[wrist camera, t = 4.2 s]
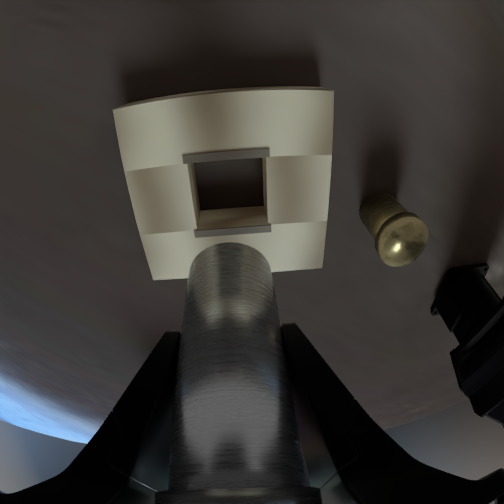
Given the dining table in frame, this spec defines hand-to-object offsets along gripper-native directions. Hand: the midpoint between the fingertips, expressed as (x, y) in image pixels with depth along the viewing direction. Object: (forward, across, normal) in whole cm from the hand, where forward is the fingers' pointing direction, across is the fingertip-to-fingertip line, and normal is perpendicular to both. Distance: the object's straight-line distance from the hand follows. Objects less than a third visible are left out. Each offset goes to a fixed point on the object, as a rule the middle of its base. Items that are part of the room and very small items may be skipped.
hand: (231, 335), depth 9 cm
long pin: (+3, 0, 0) cm, 3 cm away
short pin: (+13, -11, +3) cm, 17 cm away
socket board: (+13, 0, 0) cm, 13 cm away
